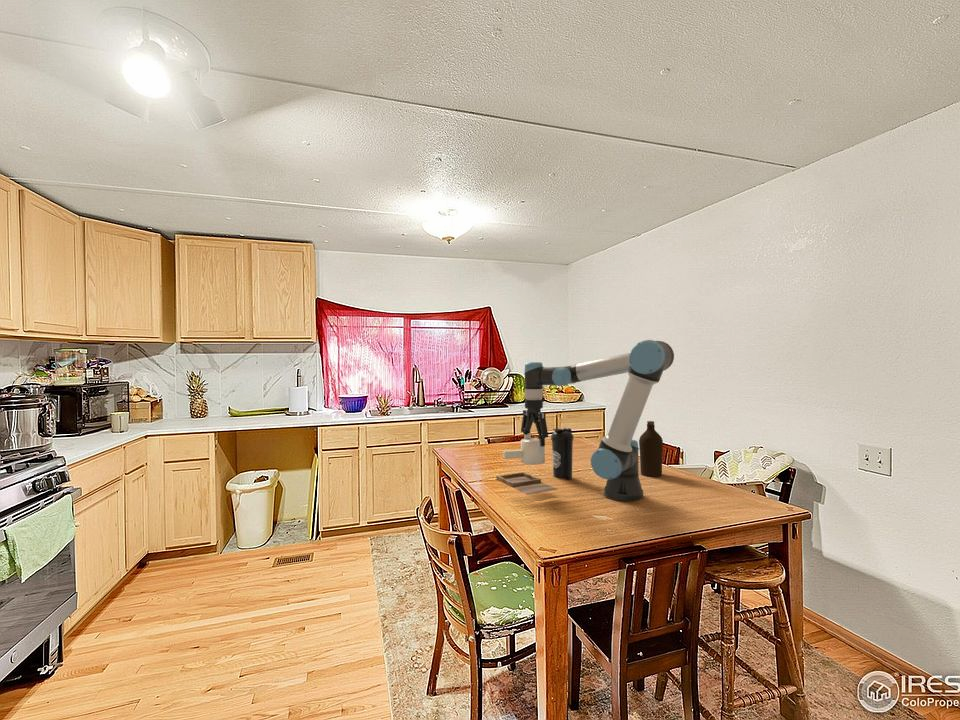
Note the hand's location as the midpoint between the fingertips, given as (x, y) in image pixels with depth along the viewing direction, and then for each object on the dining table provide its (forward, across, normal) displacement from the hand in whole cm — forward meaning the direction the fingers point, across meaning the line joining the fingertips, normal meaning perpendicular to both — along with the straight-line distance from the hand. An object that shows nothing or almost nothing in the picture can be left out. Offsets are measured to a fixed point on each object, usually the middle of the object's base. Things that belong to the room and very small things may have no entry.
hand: (534, 451), depth 200 cm
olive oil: (+17, -5, -62) cm, 64 cm away
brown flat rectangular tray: (+16, +7, 0) cm, 18 cm away
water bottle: (+17, +10, -22) cm, 30 cm away
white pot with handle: (+4, +1, +4) cm, 6 cm away
